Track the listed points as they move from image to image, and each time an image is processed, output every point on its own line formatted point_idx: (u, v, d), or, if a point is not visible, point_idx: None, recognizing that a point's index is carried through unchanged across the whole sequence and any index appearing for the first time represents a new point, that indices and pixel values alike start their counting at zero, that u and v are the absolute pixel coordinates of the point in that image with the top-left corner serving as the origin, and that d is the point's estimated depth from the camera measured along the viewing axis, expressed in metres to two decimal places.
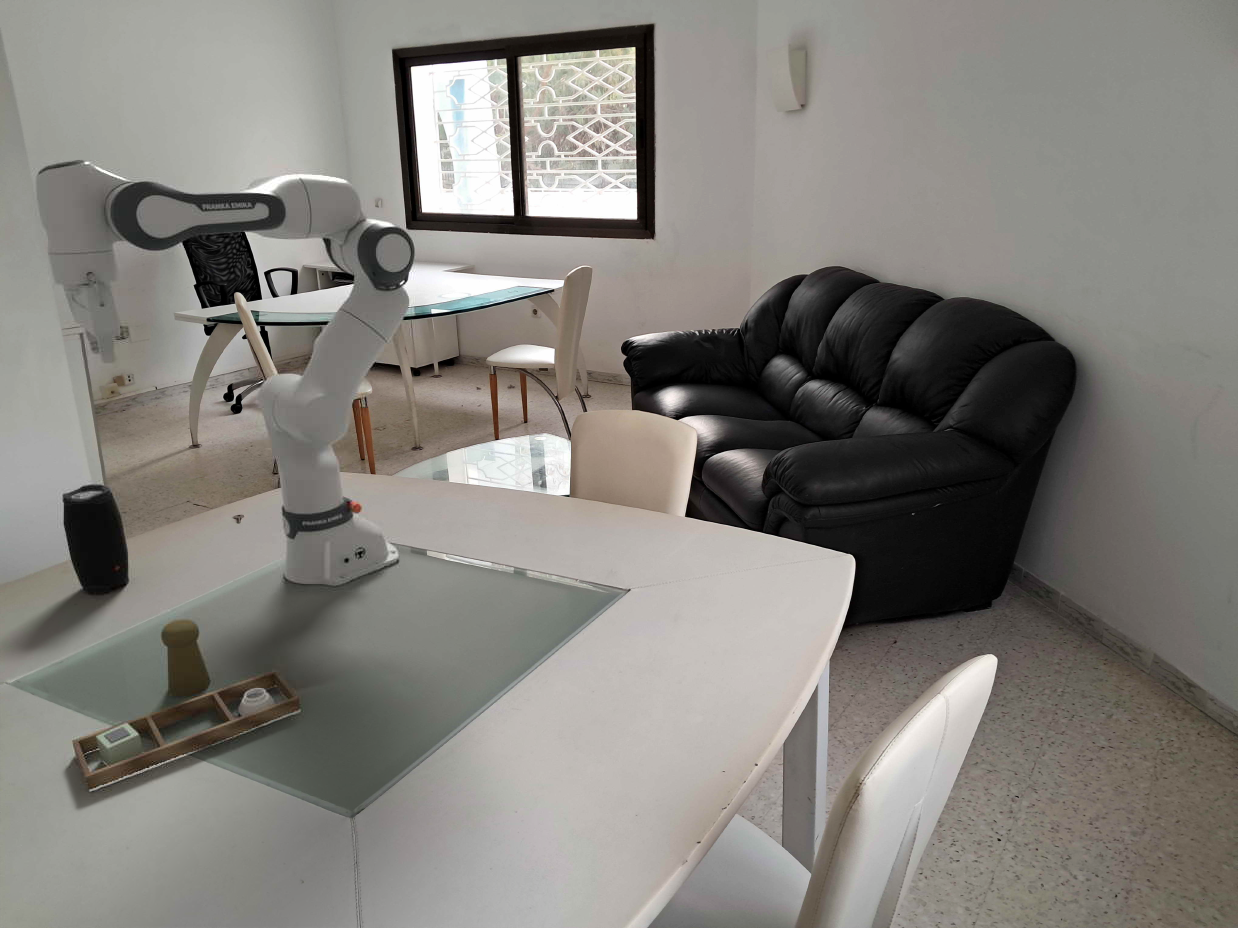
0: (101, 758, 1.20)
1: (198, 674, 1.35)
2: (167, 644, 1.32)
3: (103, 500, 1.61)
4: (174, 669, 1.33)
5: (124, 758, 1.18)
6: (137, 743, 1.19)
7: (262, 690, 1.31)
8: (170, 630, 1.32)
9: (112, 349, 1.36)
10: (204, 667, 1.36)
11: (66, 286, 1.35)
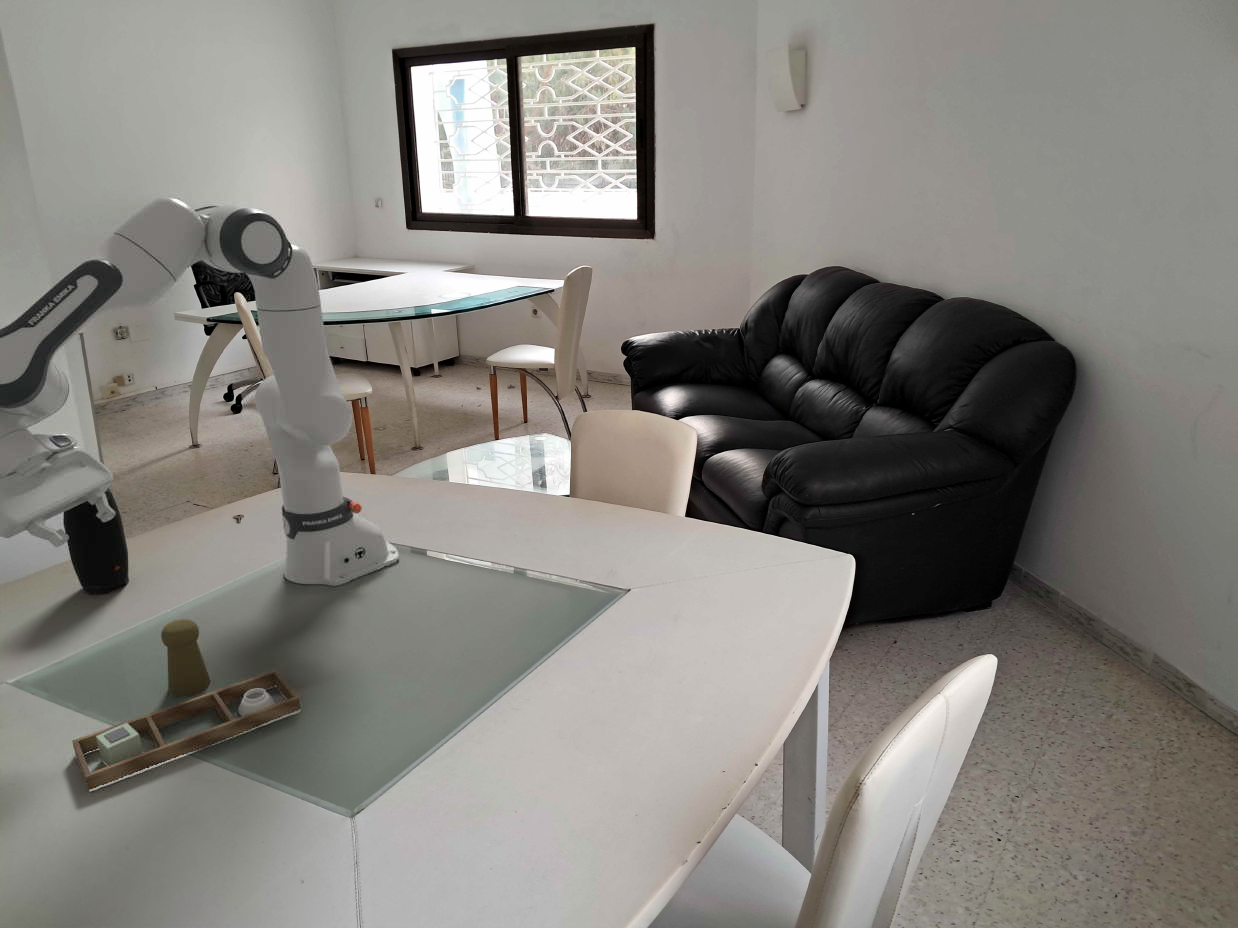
0: (101, 758, 1.20)
1: (198, 674, 1.35)
2: (167, 644, 1.32)
3: None
4: (174, 669, 1.33)
5: (124, 758, 1.18)
6: (137, 743, 1.19)
7: (262, 690, 1.31)
8: (170, 630, 1.32)
9: (49, 532, 1.25)
10: (204, 667, 1.36)
11: None
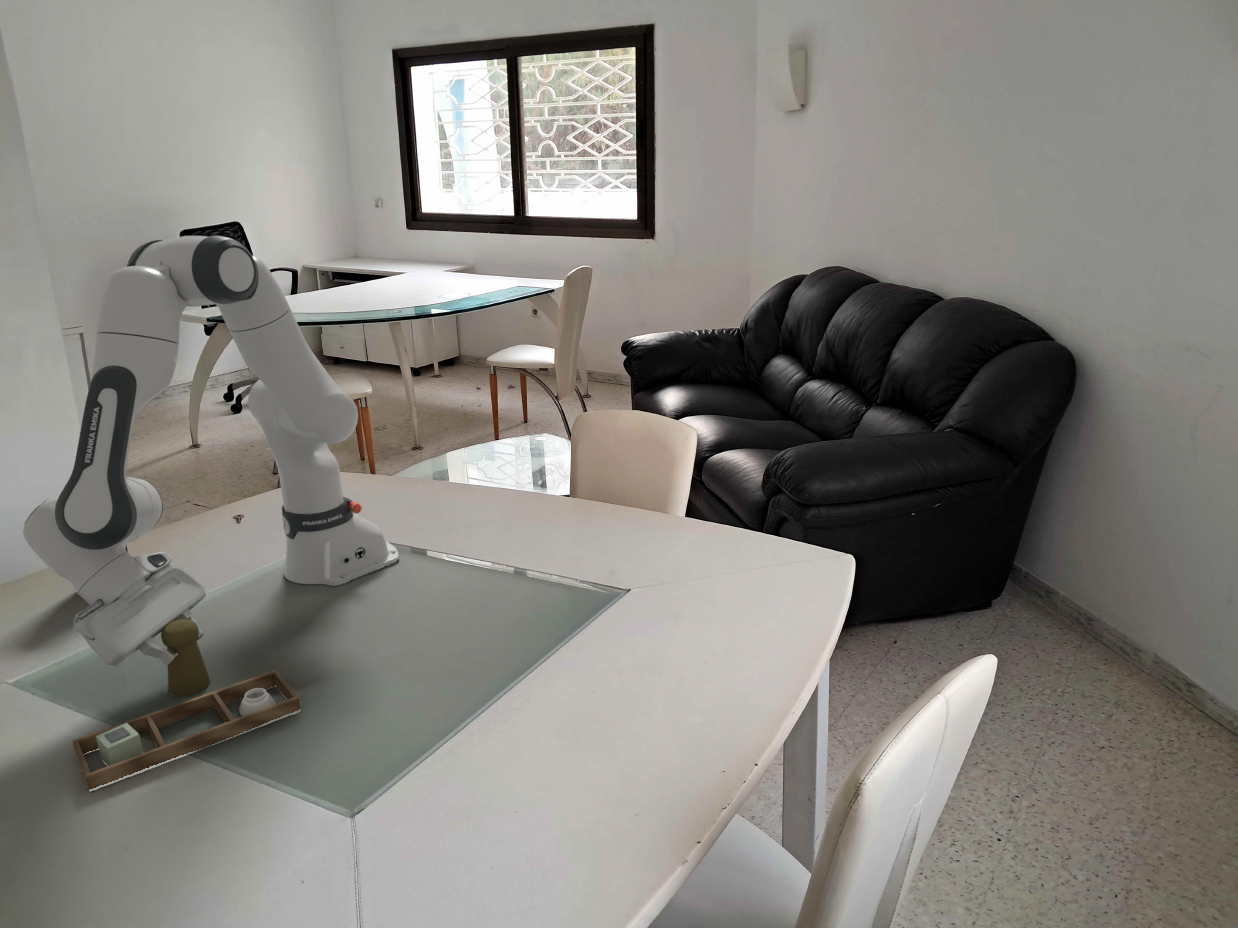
0: (101, 758, 1.20)
1: (198, 674, 1.35)
2: (167, 644, 1.32)
3: None
4: (174, 669, 1.33)
5: (124, 758, 1.18)
6: (137, 743, 1.19)
7: (262, 690, 1.31)
8: (169, 630, 1.32)
9: (160, 651, 1.30)
10: (204, 667, 1.36)
11: None
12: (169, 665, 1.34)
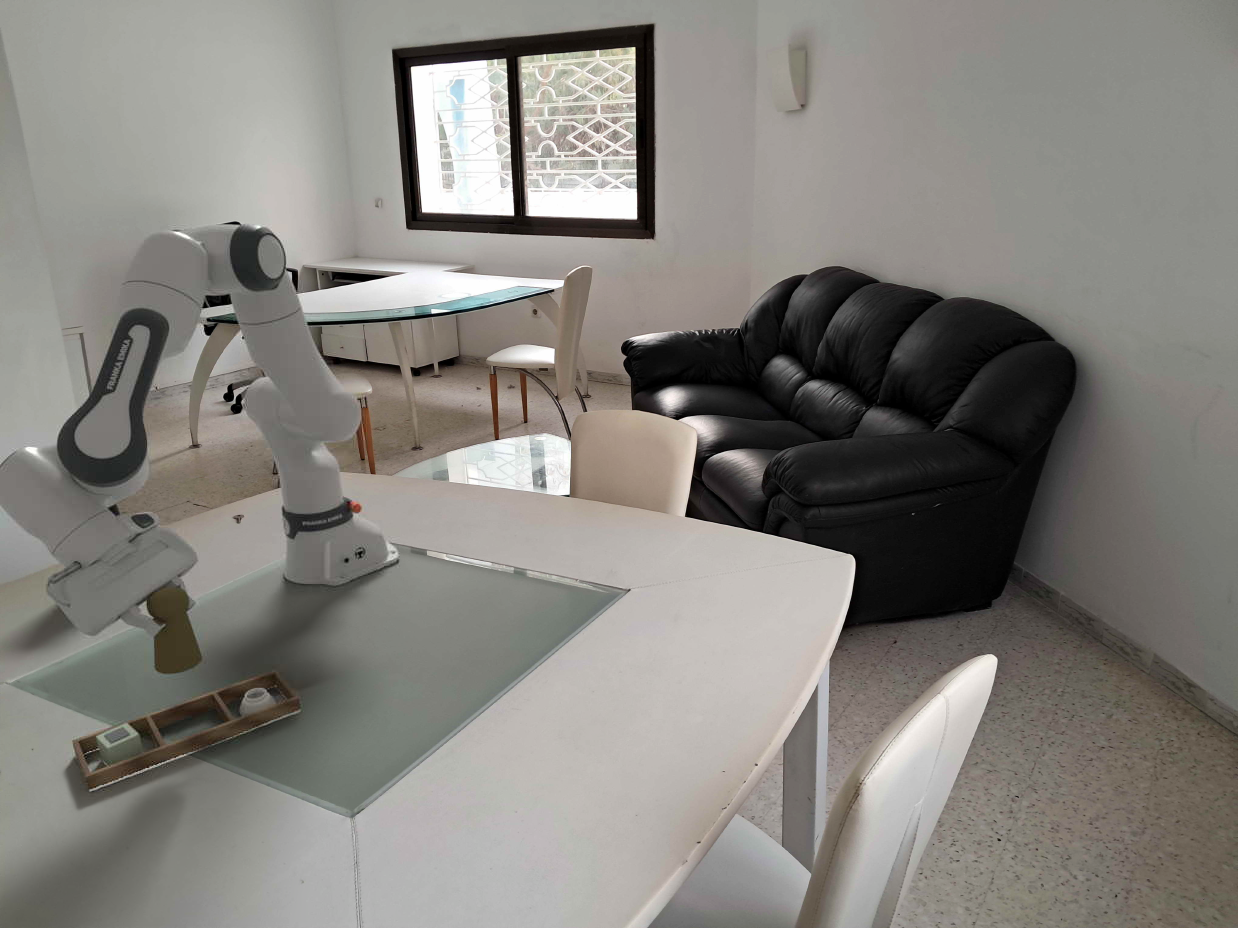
0: (101, 758, 1.20)
1: (188, 648, 1.20)
2: (153, 614, 1.17)
3: None
4: (161, 642, 1.18)
5: (124, 758, 1.18)
6: (137, 743, 1.19)
7: (263, 690, 1.31)
8: (156, 598, 1.17)
9: (145, 621, 1.15)
10: (195, 641, 1.21)
11: None
12: (155, 638, 1.19)
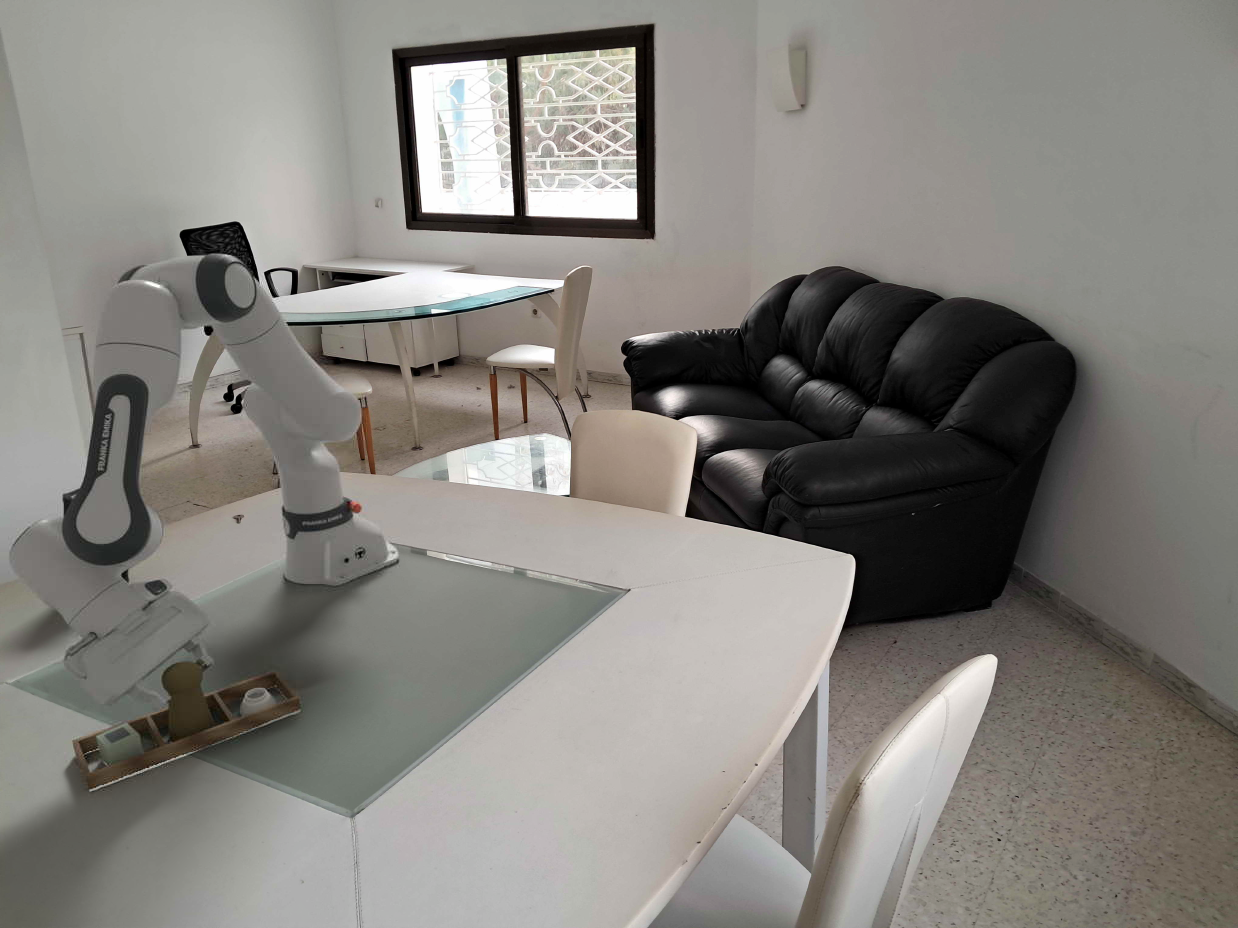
0: (101, 758, 1.20)
1: (202, 721, 1.24)
2: (168, 689, 1.21)
3: None
4: (176, 716, 1.22)
5: (124, 758, 1.18)
6: (137, 743, 1.19)
7: (263, 690, 1.32)
8: (171, 674, 1.21)
9: (152, 695, 1.17)
10: (208, 713, 1.25)
11: None
12: (170, 712, 1.22)
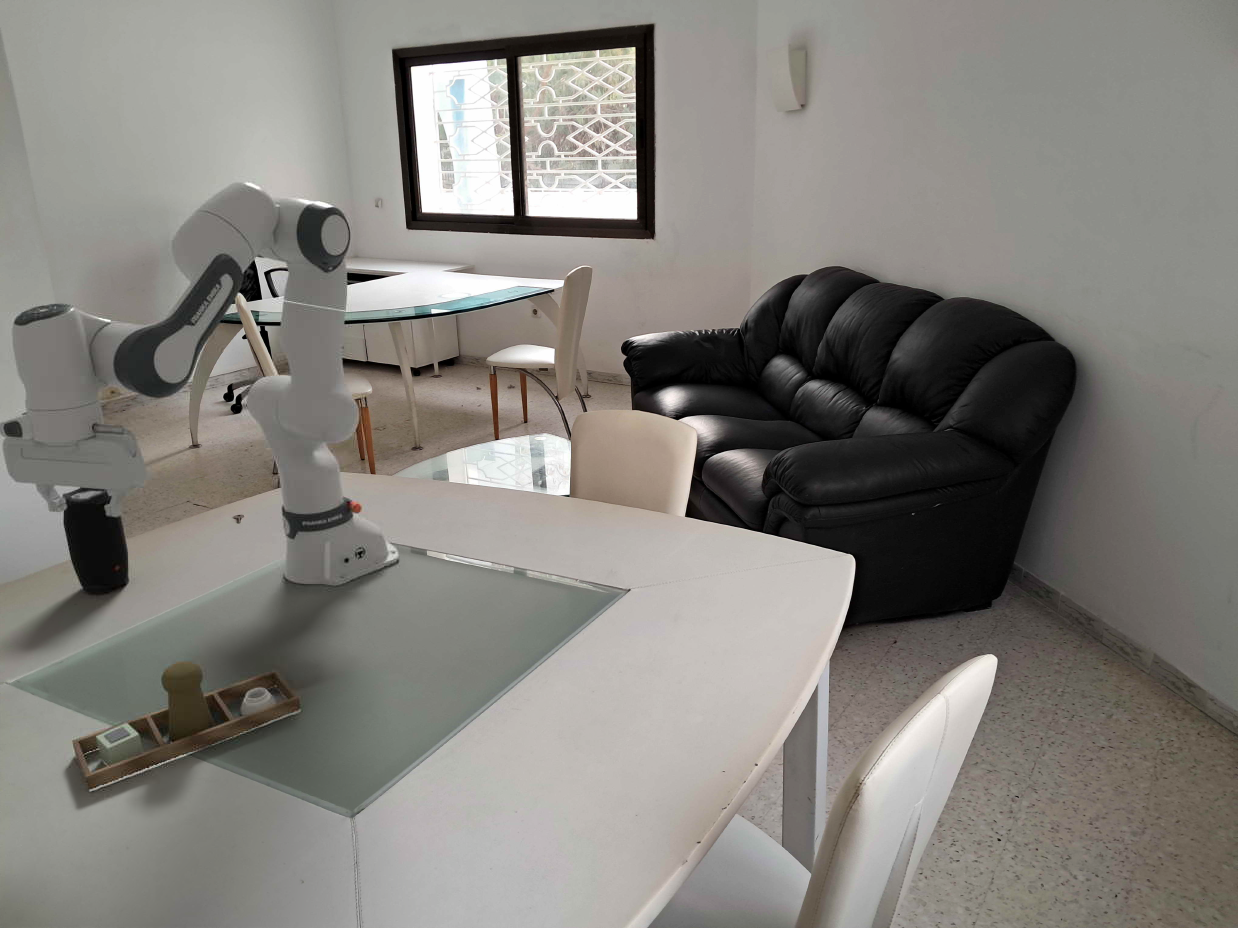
0: (101, 758, 1.20)
1: (202, 721, 1.24)
2: (168, 690, 1.21)
3: (103, 500, 1.61)
4: (176, 716, 1.22)
5: (124, 758, 1.18)
6: (137, 743, 1.19)
7: (263, 690, 1.32)
8: (171, 674, 1.21)
9: (122, 500, 1.27)
10: (208, 713, 1.25)
11: (57, 443, 1.21)
12: (170, 712, 1.22)
